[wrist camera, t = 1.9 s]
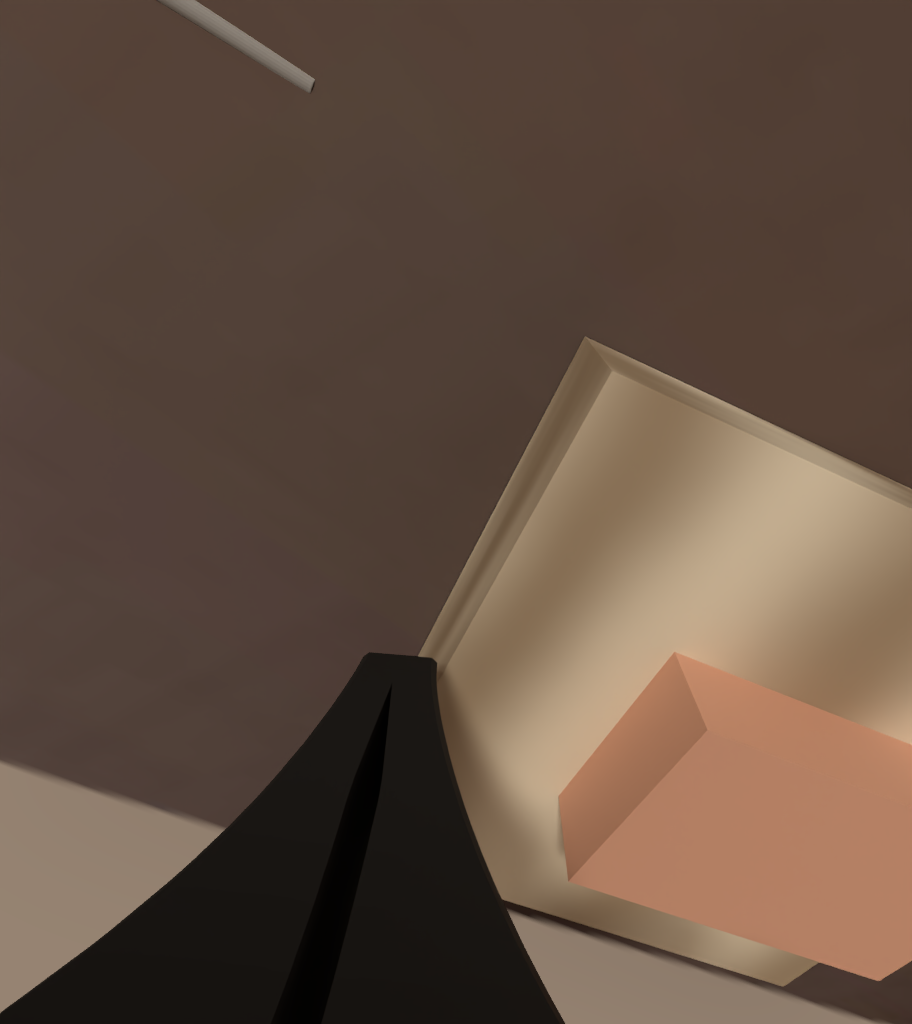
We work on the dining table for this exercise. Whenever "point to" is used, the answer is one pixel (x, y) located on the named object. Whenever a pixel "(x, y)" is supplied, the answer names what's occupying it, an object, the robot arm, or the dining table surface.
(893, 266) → the dining table surface
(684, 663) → the tile
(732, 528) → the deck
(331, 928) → the robot arm
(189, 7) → the sign
